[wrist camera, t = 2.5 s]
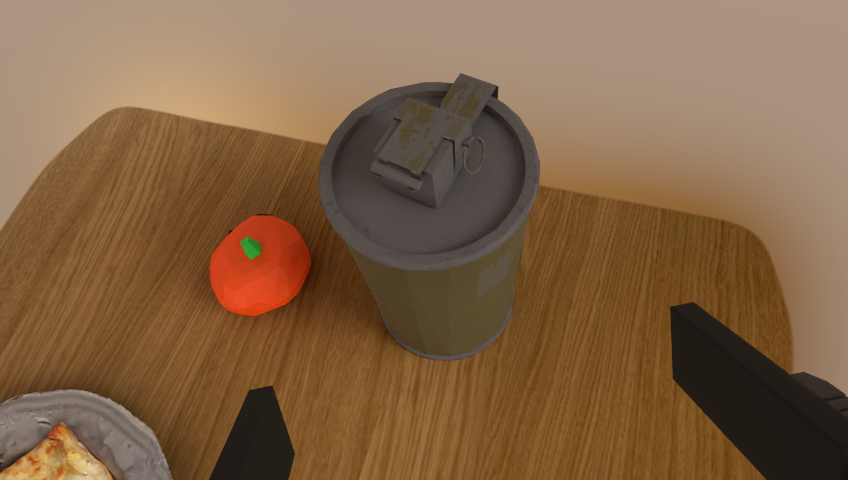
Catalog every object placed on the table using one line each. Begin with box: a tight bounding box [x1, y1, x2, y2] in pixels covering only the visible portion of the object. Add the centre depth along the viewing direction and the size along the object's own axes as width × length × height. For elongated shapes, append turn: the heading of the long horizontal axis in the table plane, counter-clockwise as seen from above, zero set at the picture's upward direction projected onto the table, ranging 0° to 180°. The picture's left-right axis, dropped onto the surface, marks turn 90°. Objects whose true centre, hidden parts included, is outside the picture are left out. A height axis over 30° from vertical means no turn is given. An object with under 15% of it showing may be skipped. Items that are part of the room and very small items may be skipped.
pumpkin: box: [210, 214, 311, 316], centre depth 38 cm, size 7×8×6 cm
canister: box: [318, 74, 540, 360], centre depth 31 cm, size 11×10×20 cm
